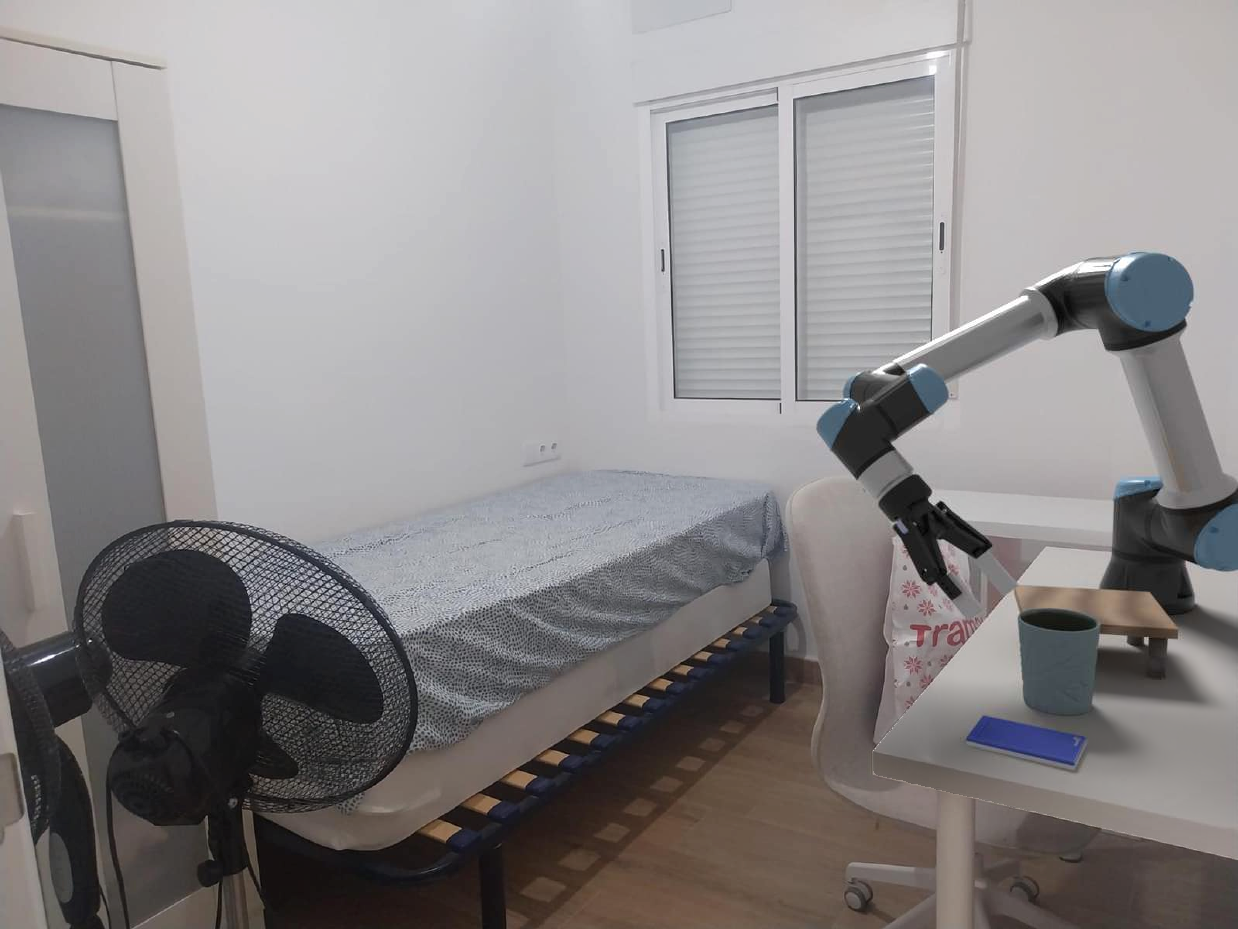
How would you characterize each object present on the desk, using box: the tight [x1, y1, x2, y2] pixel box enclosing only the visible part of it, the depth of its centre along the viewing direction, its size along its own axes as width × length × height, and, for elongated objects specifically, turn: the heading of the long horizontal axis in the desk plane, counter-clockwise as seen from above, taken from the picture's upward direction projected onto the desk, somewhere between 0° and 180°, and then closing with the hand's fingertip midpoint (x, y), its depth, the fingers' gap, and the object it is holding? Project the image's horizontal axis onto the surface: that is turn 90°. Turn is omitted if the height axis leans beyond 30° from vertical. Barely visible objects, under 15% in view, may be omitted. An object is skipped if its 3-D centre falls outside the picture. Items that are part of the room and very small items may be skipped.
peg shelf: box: [1013, 584, 1179, 680], centre depth 141 cm, size 20×18×8 cm
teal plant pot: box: [1017, 608, 1101, 716], centre depth 125 cm, size 10×10×12 cm
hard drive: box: [965, 714, 1088, 771], centre depth 114 cm, size 2×8×12 cm
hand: (994, 603), depth 129 cm, fingers open, 13 cm apart
